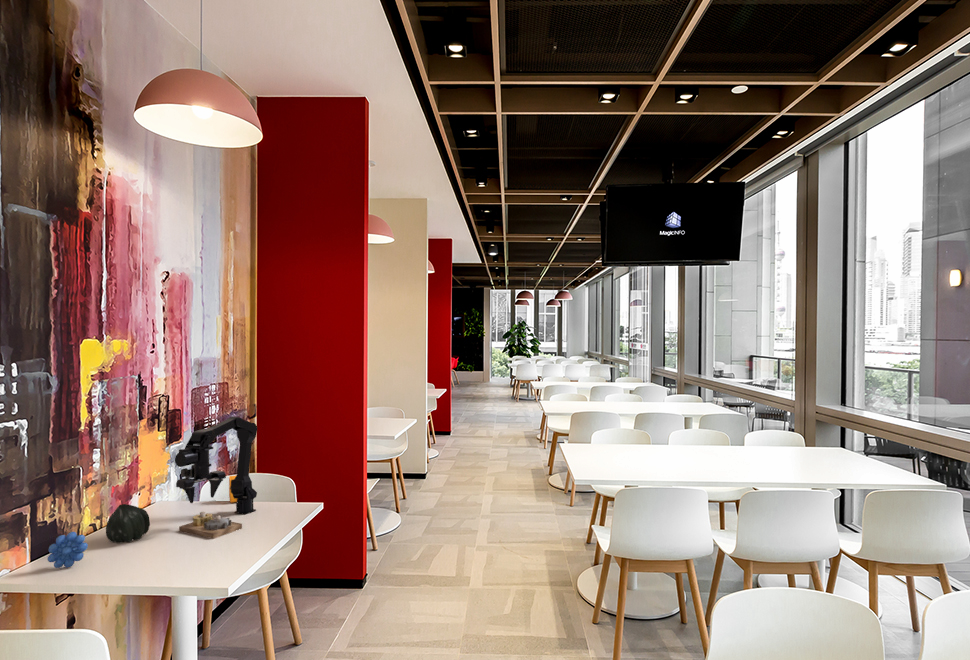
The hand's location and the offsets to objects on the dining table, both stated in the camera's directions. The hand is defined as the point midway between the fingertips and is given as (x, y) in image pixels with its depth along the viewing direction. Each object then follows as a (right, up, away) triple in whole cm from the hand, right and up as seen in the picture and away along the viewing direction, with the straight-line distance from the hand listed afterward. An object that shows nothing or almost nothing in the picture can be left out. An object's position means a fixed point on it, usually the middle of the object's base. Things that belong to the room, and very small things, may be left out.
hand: (202, 500), depth 233 cm
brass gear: (0, -9, 0) cm, 9 cm away
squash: (-23, -12, -11) cm, 28 cm away
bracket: (-3, -13, +42) cm, 44 cm away
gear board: (+5, -11, -2) cm, 12 cm away
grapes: (-27, -12, -38) cm, 48 cm away
